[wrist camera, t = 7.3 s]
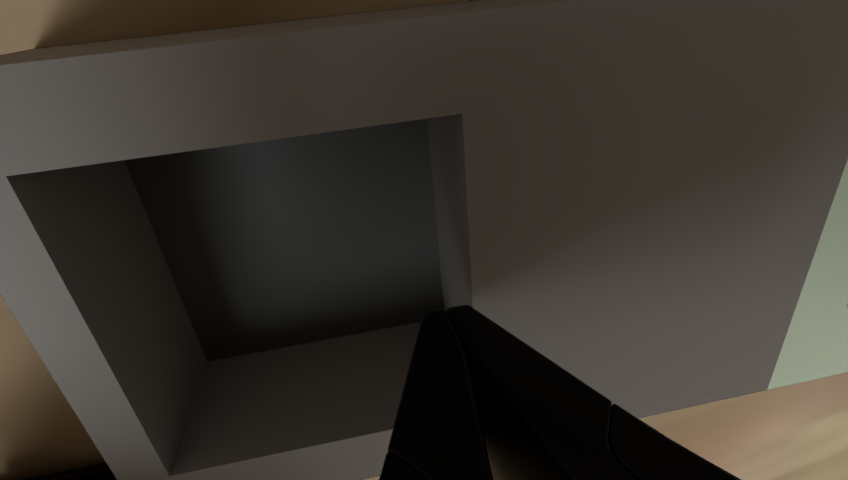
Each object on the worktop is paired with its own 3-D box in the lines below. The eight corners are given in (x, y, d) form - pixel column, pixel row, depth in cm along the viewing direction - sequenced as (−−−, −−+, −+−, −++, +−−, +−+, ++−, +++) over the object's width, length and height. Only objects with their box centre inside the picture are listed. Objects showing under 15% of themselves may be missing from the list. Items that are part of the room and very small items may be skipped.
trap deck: (1102, 221, 18) (1284, 275, 15) (190, 398, 14) (147, 527, 11) (1308, -92, 14) (1648, -121, 10) (32, 49, 10) (-134, 80, 6)
